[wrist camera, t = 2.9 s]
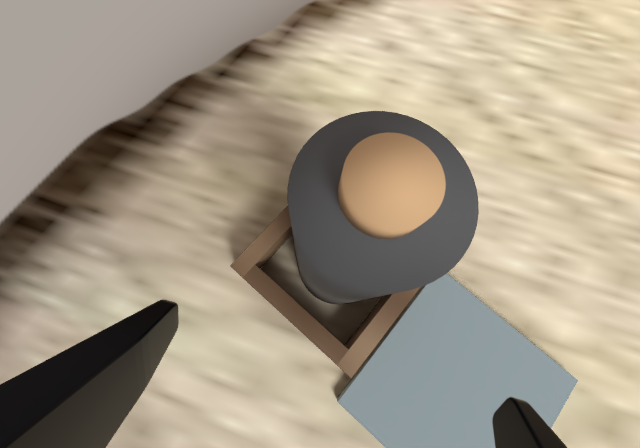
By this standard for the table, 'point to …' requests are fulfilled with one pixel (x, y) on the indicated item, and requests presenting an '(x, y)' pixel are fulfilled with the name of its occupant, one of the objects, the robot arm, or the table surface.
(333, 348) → the brown square frame
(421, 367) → the mat
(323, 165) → the grey jar with lid
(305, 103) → the table surface
